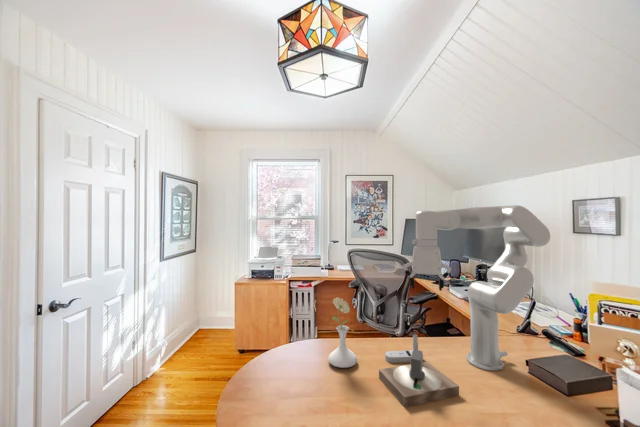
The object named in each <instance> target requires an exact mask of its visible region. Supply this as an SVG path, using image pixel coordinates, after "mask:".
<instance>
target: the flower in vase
mask: <svg viewBox="0 0 640 427" xmlns="http://www.w3.org/2000/svg"><path fill="white" fill-rule="evenodd" d="M332 303H333V305H334V307H336V309H337V310H338V313H337V316H339V315H340V312H342V313H344V314H348V313H350V310H351V308H350V305H349V303H348V302H347V301H346V300H344V299H343V298H340V297H336V298H333V299H332ZM331 319H332V320H334V321H336V322H338V323H339V325H338V326H336V327H335V328H336V330H337V332H338V336H339V346H338V347H337V348H336V349H334V350H333V351H332V352H330V353H329V355H328V358H327V361H328V362H329V363H330V364H331V365H332V366H333V367H336V368H342V369H344V368H345V369H347V368H351V367H353V366H355V365H356V364H357V363H358V357H357V355H356V354H355V353H354V352H353V351H352V350H351V349H349V348H348V347H347V344H346V343H347V342H346V341H347V340H346V337H347V333H348V331H349V329H350V327H349V326H347V325H345V324H346V323H347V322H348V320H344V321H342V322H340V319H339V317H336V316H335V315H334V316H332V318H331Z"/></svg>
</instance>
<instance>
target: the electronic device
mask: <svg viewBox="0 0 640 427" xmlns="http://www.w3.org/2000/svg"><path fill="white" fill-rule="evenodd" d="M418 339H419V338H418V334H414V333H413V334H412V349H411V350H410V349H409V350H407V349H406V350H387V351H386V352H385V353H384V354H385V355H384V356H385V357H384V358H385V361H386V362H388V363H393V364H394V363H395V364H397V363H398V364H400V363H402V364H403V363H411V357H412V353H413V350H419V342H418ZM422 358H423V359H424V354H423V353H422Z"/></svg>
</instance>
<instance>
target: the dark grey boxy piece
mask: <svg viewBox="0 0 640 427" xmlns="http://www.w3.org/2000/svg"><path fill="white" fill-rule="evenodd" d="M412 350H413V349H412ZM422 354H423V350H419V349H418V350H413V353H412V357H411V362H410V364H411V370H409V376H410V377H411V378H412V379H414V385H413V387H416V385H417V380H424V379H425V373H424V372H423V371H422V369H423V362H424V357H423V358H422Z"/></svg>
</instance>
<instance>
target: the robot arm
mask: <svg viewBox="0 0 640 427" xmlns="http://www.w3.org/2000/svg"><path fill="white" fill-rule="evenodd" d="M493 228H494V229H495V228H504V229H503V232H502V233H503V241H504V250H503V252H502V254H501V255H500V256H499V258H497V260H496V261H495V262H493V264H492V265H491V267H490V268H489V269H488V271H487V273H486V278H487V280H488V281H489V282H487V281H485V280H483V281H482V280H478V281H477V280H476V281H473V282H471V283H470V284H469V286H468V288H467V297H468V298H467V299H468V303H469V309H470V310H469V312H470V314H469V315H470V352H468V353H467V354H466V355H465V356H466V358H465V359H466V361H467V362H468V363H469V364H471V366H473V367H477V368H478V369H481V370H485V371H494V372H495V371H501V370H503V369H504V362H503V361H502V360H501V359H502V358H503V357H508V356H509V355H508V352H507V351H506V350H502V351H501V350H499V347H500V346H499V340H500V339H499V316H498V314H500V315H508V314H511V313H512V312H513V311H514V310H516V308H517V307H518V306H519V305H520V303H521V302H522V301H523V300H524V299H525V297H526V296H527V295H528V294H529V293H530V291H531V290H532V288H533V286H534V280H535V278H534V274H533V273H532V271H531V270H530V269H528V268H527V267H525V266H526V265H527V262H528V255H527V252H526V248H525V246H526V247H527V246H528V247H534V248H536V247H537V248H540V247H544V246H546V245H547V244H548V243H549V242H550V240H551V232H550V230H549V228H548V227H547V225H545V224H544V223H543V222H542V221H541V220H540V219H539V218H538V217H537V216H536V215H535V214H534V213H532V212H531V211H530V210H529V209H528V208H526V207H524V206H522V205H517V204H516V205H499V206H481V207H479V206H477V207H467V208H460V209H459V208H458V209H446V210H444V209H441V210H420V211H417V212H416V214H415V239H412V240H411V244H414V245H415V246H413V250H412V259H411V261H409V262H407V263H405V264H402V268H403V271H404V272H405V274H406V275H407V276H408V277H409V280H410V282H409V284H410V286H411V289H415V277H414V276H415V275H416V274H418V275H429V276H431V275H432V276H438V277H439V278H438V289H439V291H441V292H442V291H443V289H444V286H445V285H444V284H445V283H444V282H445V279H446V278H447V277H448V276H449V275H450V273H451V271H452V269H453V268H452V267H450V266H448V265H447V264H445V263H443V262H442V255H441V249H440V247H439V246H438V230H441V231H453V230H455V229H465V230H466V229H467V230H479V229H481V230H482V229H493ZM409 267H411V269H412V271H410V270H409V269H408V268H409ZM442 268H443V269H445V270H446V271H445V272H444V273H443V274H442Z"/></svg>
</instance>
